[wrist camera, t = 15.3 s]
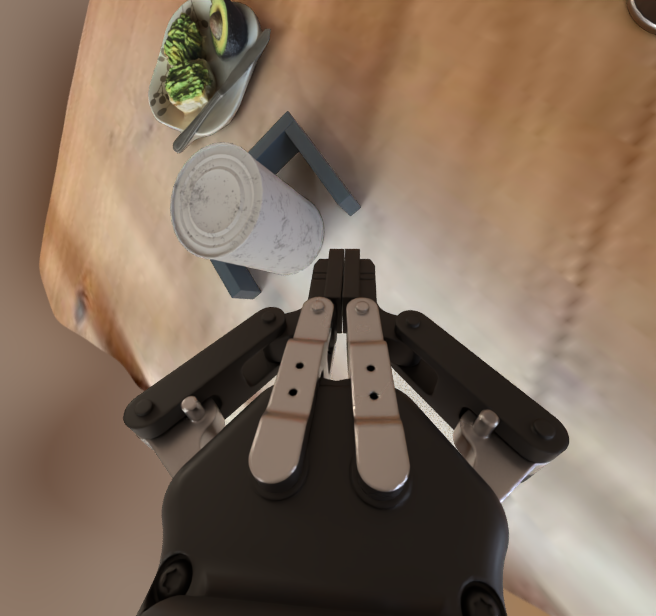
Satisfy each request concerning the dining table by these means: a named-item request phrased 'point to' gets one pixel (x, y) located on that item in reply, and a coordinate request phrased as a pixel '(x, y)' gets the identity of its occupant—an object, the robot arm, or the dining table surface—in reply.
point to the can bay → (274, 156)
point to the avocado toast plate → (205, 67)
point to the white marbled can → (243, 213)
